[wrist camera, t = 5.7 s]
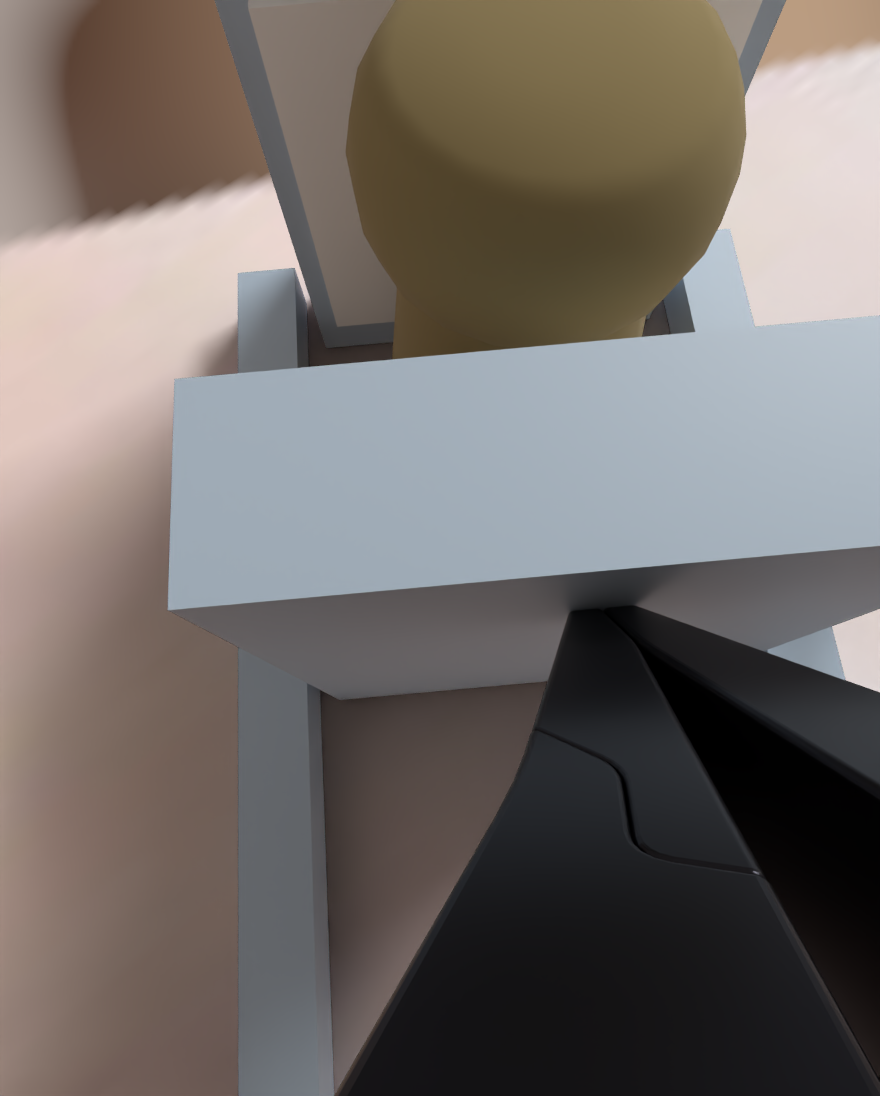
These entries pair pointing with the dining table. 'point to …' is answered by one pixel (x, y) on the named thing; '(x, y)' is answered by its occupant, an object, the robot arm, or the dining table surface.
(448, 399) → the block
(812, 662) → the vise bed
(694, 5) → the cork
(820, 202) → the dining table surface
